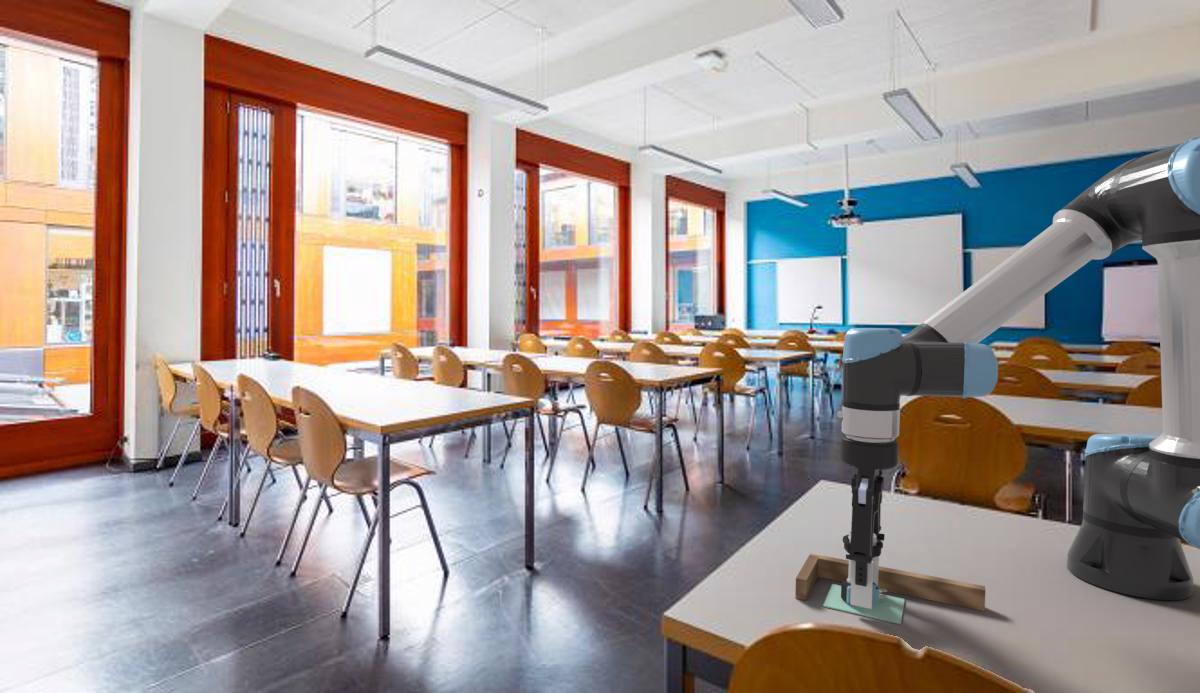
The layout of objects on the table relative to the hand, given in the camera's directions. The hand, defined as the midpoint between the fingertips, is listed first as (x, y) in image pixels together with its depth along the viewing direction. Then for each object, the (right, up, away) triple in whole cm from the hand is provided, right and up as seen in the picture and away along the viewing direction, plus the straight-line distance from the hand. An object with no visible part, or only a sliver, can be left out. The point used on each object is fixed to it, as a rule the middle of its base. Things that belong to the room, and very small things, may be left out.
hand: (864, 593), depth 90 cm
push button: (0, -1, 0) cm, 1 cm away
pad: (0, -1, 0) cm, 1 cm away
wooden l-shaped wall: (+4, -1, 0) cm, 4 cm away
